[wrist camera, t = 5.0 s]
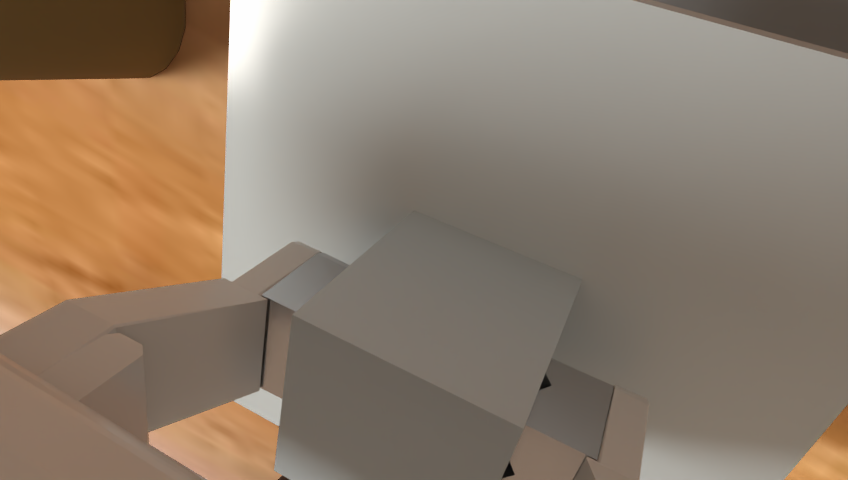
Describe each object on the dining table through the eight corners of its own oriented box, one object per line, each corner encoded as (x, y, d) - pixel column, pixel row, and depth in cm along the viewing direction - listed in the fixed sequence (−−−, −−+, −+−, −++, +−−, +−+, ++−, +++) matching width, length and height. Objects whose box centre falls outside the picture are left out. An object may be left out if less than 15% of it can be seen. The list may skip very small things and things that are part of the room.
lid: (1048, 108, 7) (1426, 278, 3) (655, 598, 12) (633, 856, 9) (267, -105, 9) (4, -142, 6) (239, 373, 15) (96, 499, 12)
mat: (1014, -8, 12) (1029, -8, 11) (676, 491, 19) (676, 505, 19) (338, -165, 16) (326, -170, 15) (279, 305, 23) (270, 312, 23)
